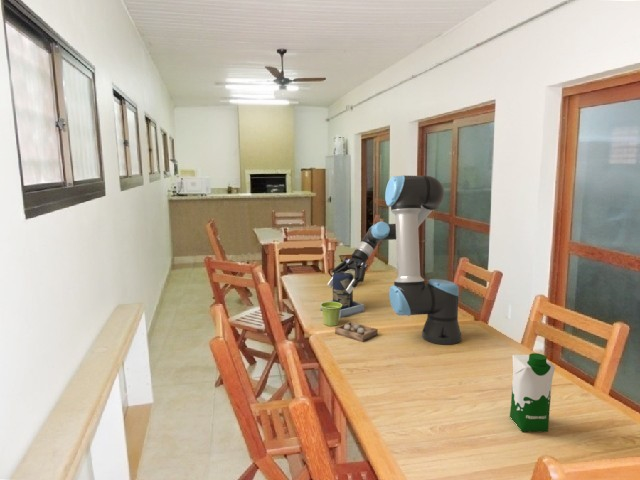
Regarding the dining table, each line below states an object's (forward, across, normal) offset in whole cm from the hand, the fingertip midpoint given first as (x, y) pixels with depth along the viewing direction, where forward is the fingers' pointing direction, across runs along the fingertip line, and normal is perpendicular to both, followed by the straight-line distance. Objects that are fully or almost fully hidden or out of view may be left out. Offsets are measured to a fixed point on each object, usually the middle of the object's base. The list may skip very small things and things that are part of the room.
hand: (338, 289), depth 214 cm
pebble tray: (+17, -27, +1) cm, 32 cm away
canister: (+5, 0, -9) cm, 11 cm away
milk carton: (+24, -104, +8) cm, 107 cm away
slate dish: (+6, 0, -10) cm, 11 cm away
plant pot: (+17, -11, +1) cm, 20 cm away
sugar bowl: (-16, +33, -32) cm, 49 cm away
